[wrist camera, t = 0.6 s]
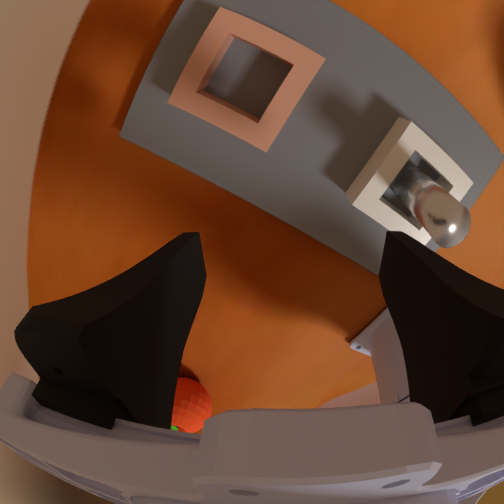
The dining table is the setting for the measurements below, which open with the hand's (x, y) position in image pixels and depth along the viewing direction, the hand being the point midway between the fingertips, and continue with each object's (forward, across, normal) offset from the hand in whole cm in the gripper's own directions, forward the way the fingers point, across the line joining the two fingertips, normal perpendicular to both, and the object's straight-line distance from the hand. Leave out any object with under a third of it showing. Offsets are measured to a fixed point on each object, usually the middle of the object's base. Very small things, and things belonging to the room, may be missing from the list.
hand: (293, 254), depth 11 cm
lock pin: (+9, -8, 0) cm, 12 cm away
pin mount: (+9, -8, 0) cm, 12 cm away
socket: (+8, +2, -7) cm, 11 cm away
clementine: (+10, +12, +24) cm, 28 cm away
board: (+10, -3, -4) cm, 11 cm away
